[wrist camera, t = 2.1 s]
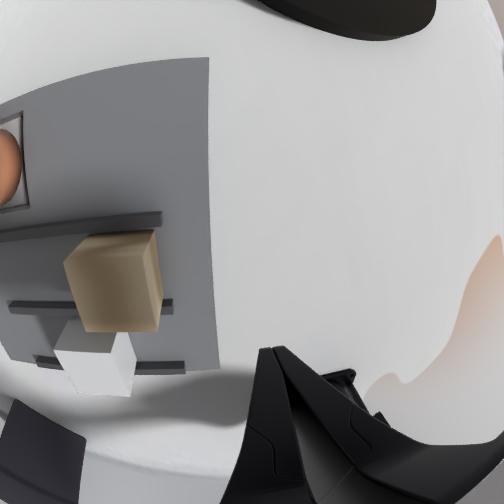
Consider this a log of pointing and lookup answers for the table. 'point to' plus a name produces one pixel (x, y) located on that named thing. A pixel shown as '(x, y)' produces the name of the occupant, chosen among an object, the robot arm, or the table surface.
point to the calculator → (39, 459)
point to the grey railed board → (113, 206)
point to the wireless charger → (360, 16)
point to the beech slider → (117, 282)
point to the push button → (9, 166)
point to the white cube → (96, 359)
